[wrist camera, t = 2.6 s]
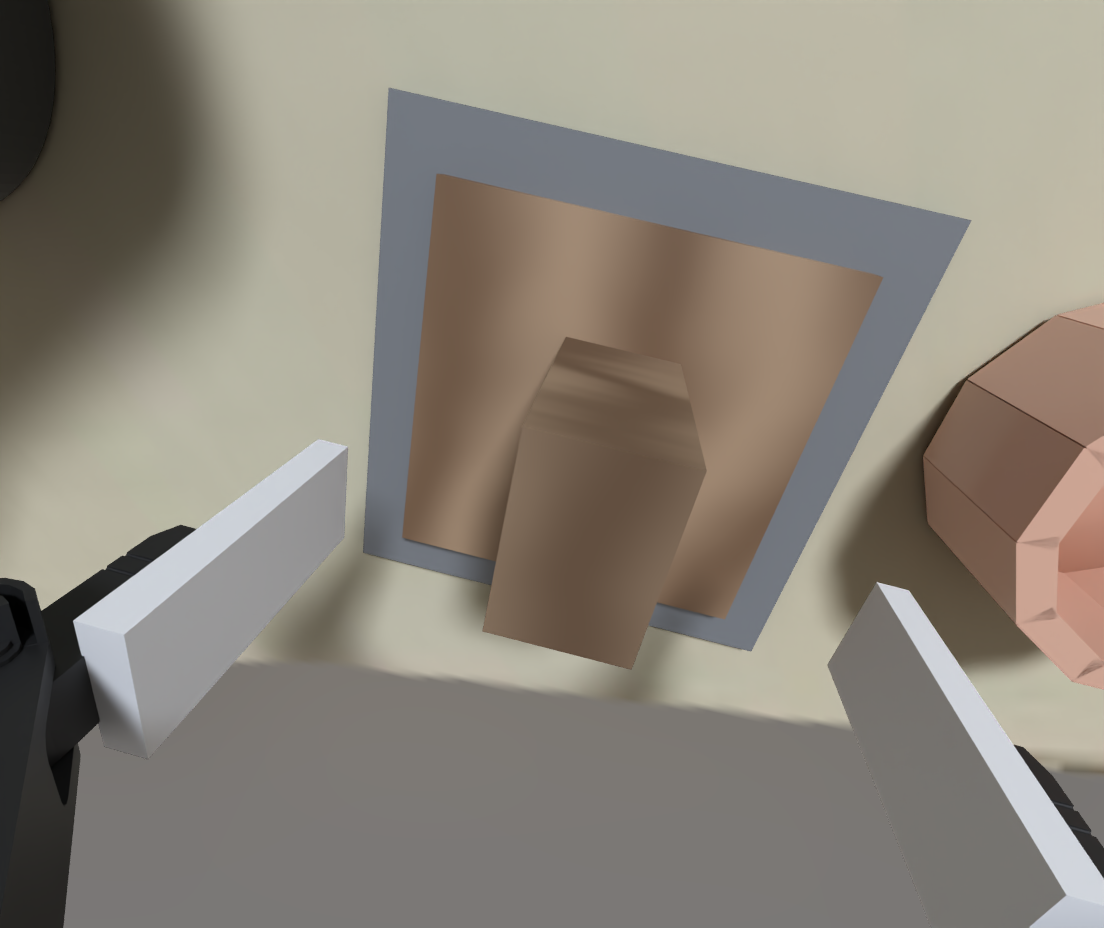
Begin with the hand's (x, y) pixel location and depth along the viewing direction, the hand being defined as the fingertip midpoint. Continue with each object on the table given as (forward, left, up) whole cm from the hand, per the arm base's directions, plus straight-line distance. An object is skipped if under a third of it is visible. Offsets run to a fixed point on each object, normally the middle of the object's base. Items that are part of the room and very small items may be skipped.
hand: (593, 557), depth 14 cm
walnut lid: (0, 0, -8) cm, 8 cm away
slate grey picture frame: (0, 0, -9) cm, 9 cm away
